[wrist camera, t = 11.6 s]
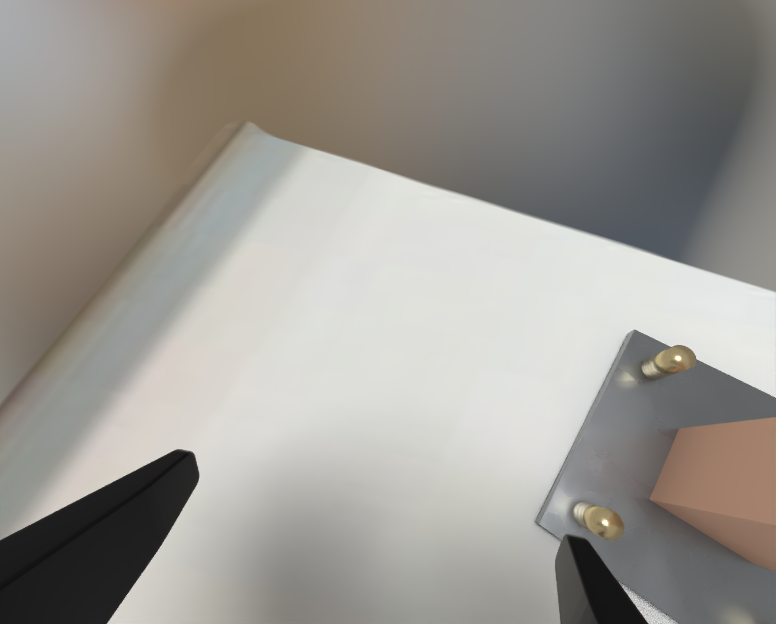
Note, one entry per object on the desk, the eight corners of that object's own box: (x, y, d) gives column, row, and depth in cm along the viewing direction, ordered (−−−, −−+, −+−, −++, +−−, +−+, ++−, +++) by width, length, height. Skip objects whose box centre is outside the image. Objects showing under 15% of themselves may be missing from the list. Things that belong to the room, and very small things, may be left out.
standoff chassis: (810, 715, 15) (907, 782, 12) (535, 521, 18) (554, 534, 15) (877, 456, 18) (968, 456, 15) (627, 333, 21) (659, 313, 18)
